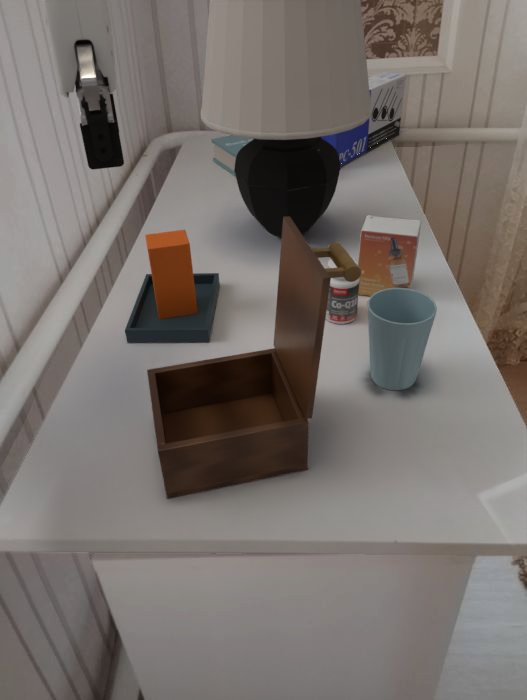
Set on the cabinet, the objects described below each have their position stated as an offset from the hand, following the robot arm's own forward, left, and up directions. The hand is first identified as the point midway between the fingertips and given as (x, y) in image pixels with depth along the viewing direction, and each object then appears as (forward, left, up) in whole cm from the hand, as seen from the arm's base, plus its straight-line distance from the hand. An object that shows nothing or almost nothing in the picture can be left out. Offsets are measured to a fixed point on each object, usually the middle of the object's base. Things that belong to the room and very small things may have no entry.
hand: (105, 150), depth 59 cm
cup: (+19, -24, -28) cm, 42 cm away
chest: (-2, -16, -28) cm, 33 cm away
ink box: (+86, +27, -28) cm, 95 cm away
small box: (+36, -12, -28) cm, 47 cm away
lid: (+4, -20, -13) cm, 25 cm away
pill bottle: (+26, -11, -28) cm, 40 cm away
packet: (+12, +8, -28) cm, 31 cm away
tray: (+12, +8, -28) cm, 32 cm away
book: (+64, +36, -28) cm, 79 cm away
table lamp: (+42, +12, -28) cm, 52 cm away
